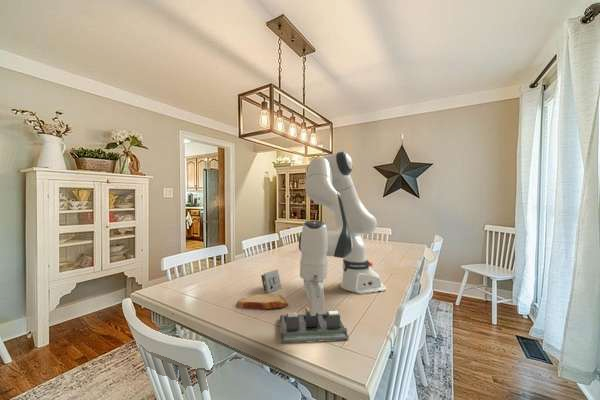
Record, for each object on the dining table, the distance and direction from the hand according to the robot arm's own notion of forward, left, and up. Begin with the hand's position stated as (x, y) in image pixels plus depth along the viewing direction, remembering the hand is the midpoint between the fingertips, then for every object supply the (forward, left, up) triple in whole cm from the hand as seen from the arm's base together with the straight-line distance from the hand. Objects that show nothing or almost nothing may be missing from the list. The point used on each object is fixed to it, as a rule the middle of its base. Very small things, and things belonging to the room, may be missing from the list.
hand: (312, 313), depth 78 cm
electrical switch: (+14, -43, -9) cm, 47 cm away
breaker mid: (-1, -6, -7) cm, 10 cm away
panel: (-1, -6, -9) cm, 11 cm away
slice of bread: (+17, -27, -9) cm, 33 cm away
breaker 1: (+6, -3, -7) cm, 10 cm away
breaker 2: (-8, -3, -7) cm, 11 cm away
